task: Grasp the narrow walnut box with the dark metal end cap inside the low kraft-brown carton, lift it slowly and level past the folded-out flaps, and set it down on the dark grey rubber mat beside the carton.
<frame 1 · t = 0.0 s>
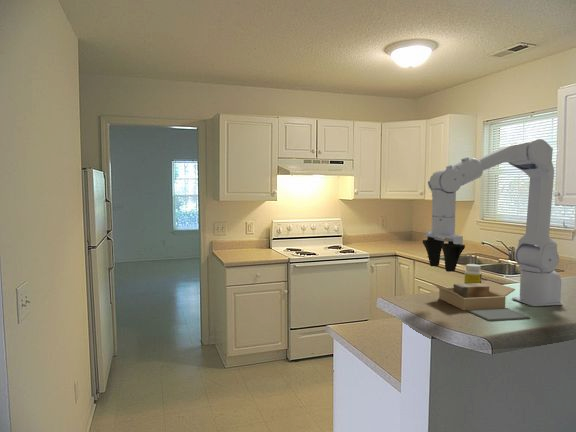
hand: (442, 268, 108), 10 cm above the table, tool pointing down, fingers open, 7 cm apart
carton: (470, 303, 112), on the table
supplement bottle: (472, 293, 125), on the table
box: (471, 294, 112), in the carton
mat: (498, 314, 101), on the table
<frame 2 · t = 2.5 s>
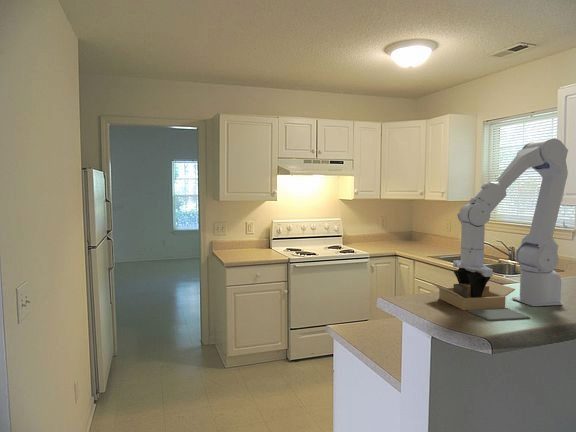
hand: (470, 298, 112), 1 cm above the table, tool pointing down, fingers closed on box, 4 cm apart
box: (470, 294, 112), in the carton, touching gripper
everything else where it was.
when the fingers open (3 cm above the table, at t = 8.7 s): box drops 1 cm, resting on mat.
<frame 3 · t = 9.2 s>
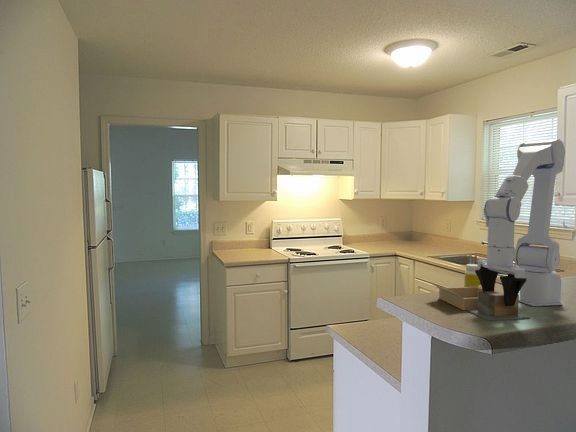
hand: (498, 301, 101), 3 cm above the table, tool pointing down, fingers open, 7 cm apart
box: (498, 303, 101), on the mat
everything else where it was.
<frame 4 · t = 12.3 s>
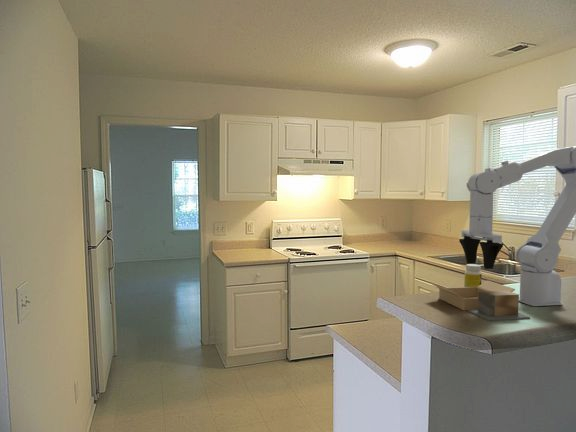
hand: (479, 266, 113), 10 cm above the table, tool pointing down, fingers open, 7 cm apart
nothing on the table moved.
at the end: box 0.1 cm off-centre on the mat, point 2.9 cm above the mat's base; box tilted 0°; box touching mat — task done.
